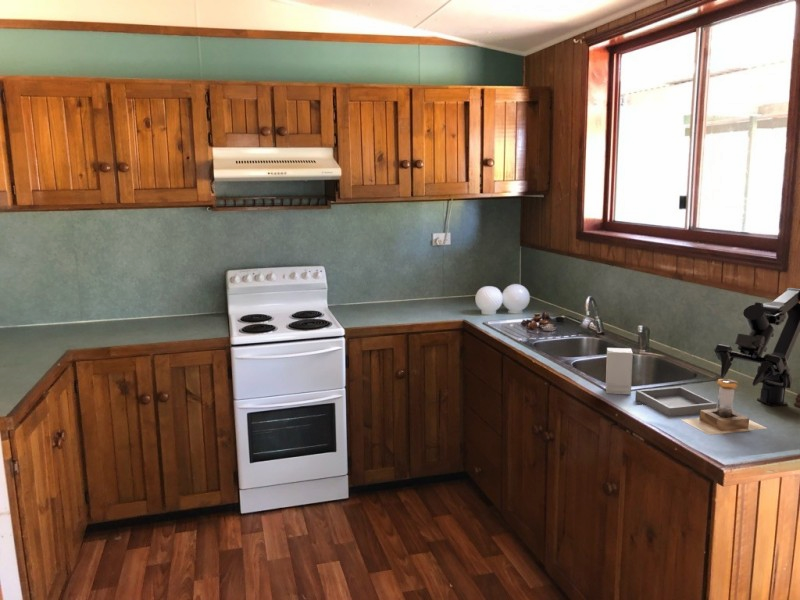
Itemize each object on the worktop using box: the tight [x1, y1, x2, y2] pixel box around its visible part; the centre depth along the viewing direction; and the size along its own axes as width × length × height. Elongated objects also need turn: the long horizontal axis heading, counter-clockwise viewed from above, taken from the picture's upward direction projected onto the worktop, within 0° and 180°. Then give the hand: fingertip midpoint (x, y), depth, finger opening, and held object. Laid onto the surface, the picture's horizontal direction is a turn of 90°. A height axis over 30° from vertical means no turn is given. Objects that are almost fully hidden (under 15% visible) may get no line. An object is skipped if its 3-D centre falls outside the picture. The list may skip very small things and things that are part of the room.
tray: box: [634, 386, 718, 417], centre depth 213 cm, size 17×17×4 cm
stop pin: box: [716, 378, 739, 418], centre depth 196 cm, size 5×5×13 cm
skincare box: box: [605, 347, 634, 395], centre depth 227 cm, size 8×6×15 cm
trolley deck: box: [681, 408, 768, 436], centre depth 197 cm, size 20×12×4 cm, turn 105°
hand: (737, 381), depth 199 cm, fingers open, 9 cm apart
